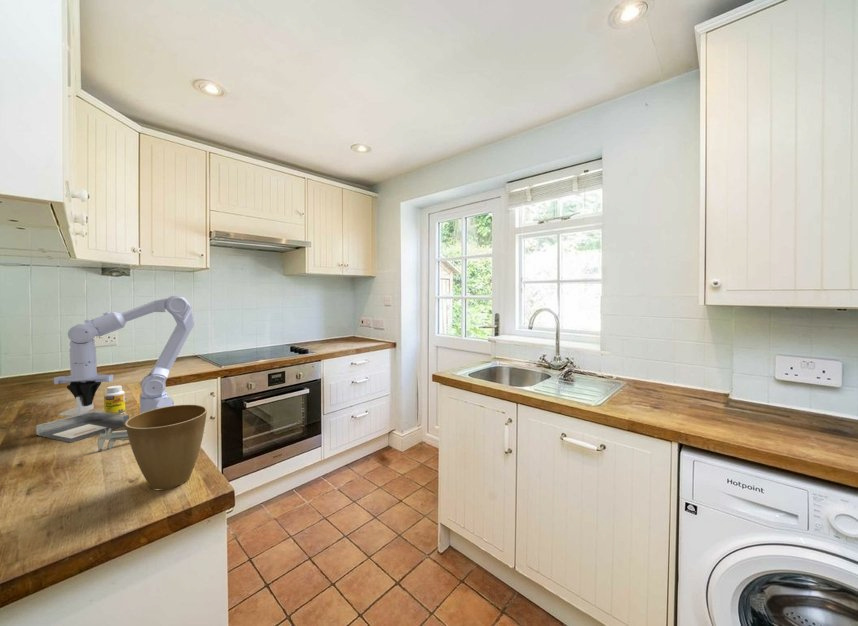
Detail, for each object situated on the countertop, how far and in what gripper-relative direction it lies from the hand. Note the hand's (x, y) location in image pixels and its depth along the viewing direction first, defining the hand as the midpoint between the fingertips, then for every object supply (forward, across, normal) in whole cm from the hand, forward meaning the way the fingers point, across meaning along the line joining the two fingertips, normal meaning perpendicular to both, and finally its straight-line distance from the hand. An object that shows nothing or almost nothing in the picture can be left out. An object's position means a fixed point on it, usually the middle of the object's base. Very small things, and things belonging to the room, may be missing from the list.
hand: (85, 405), depth 106 cm
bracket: (+2, +2, 0) cm, 3 cm away
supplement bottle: (+9, +3, -18) cm, 20 cm away
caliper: (+9, -21, +8) cm, 24 cm away
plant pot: (+9, -41, +36) cm, 56 cm away
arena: (+9, +3, -3) cm, 10 cm away
